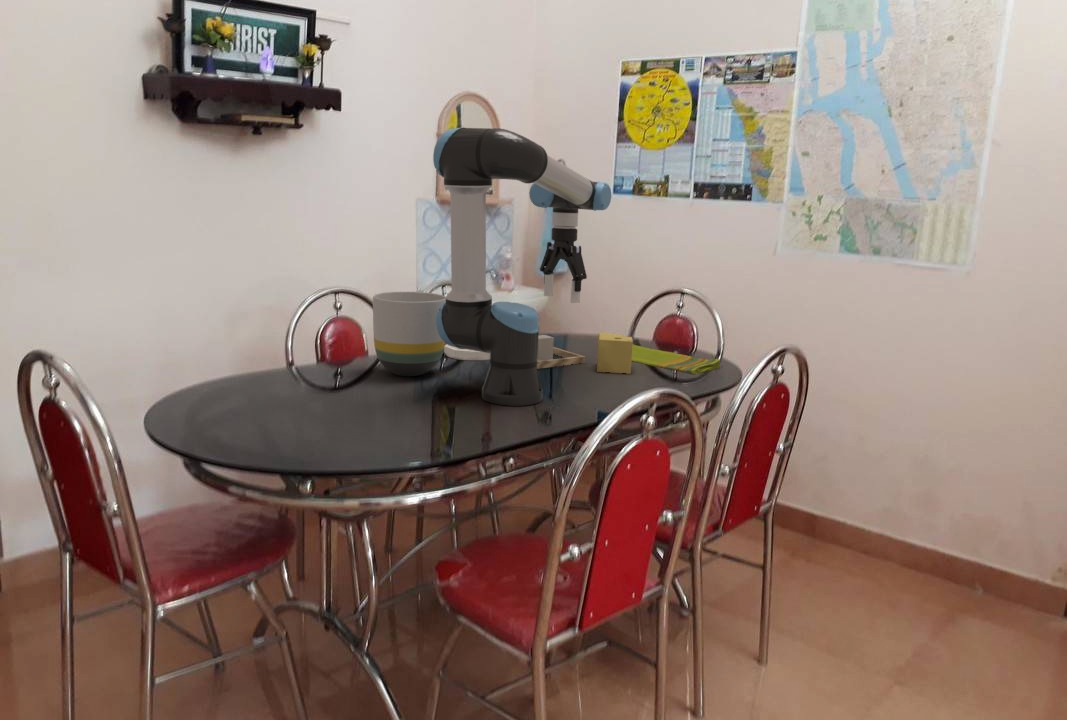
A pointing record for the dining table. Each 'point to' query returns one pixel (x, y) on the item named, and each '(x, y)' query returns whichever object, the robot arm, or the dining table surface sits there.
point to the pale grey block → (545, 347)
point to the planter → (407, 331)
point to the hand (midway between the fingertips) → (561, 299)
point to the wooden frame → (561, 359)
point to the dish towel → (673, 360)
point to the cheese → (614, 353)
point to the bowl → (465, 354)
